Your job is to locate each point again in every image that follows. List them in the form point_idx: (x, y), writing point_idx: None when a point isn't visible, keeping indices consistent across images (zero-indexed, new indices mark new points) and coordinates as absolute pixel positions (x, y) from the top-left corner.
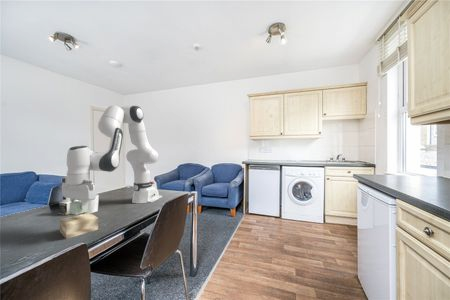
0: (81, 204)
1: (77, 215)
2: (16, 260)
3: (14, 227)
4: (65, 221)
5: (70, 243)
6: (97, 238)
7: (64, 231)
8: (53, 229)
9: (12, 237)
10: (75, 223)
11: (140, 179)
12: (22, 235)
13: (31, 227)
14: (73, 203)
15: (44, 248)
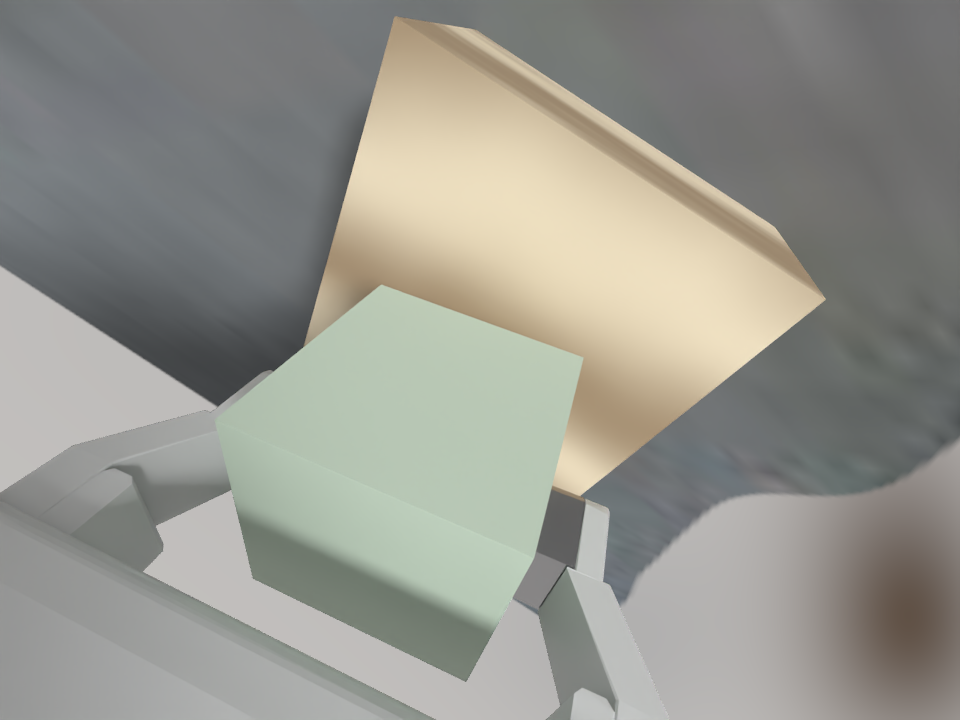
0: (549, 650)
1: (349, 219)
2: None
3: (17, 247)
4: None
5: (676, 490)
6: (913, 444)
7: None
8: (281, 263)
9: (208, 380)
10: (597, 477)
11: None
12: (220, 359)
13: (97, 238)
14: (373, 635)
15: None
